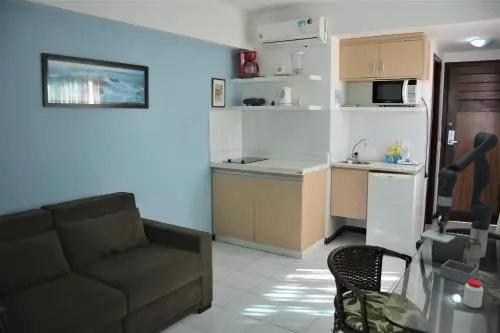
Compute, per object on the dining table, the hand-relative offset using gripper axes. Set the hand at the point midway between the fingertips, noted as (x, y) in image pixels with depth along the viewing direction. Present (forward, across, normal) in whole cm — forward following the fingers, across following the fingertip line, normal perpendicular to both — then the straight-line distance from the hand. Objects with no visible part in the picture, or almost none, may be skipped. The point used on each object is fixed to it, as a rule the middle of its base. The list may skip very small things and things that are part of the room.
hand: (441, 232), depth 245 cm
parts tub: (+17, +15, +16) cm, 28 cm away
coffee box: (+18, -3, +16) cm, 24 cm away
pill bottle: (+18, +40, +31) cm, 54 cm away
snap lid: (+2, +6, 0) cm, 6 cm away
